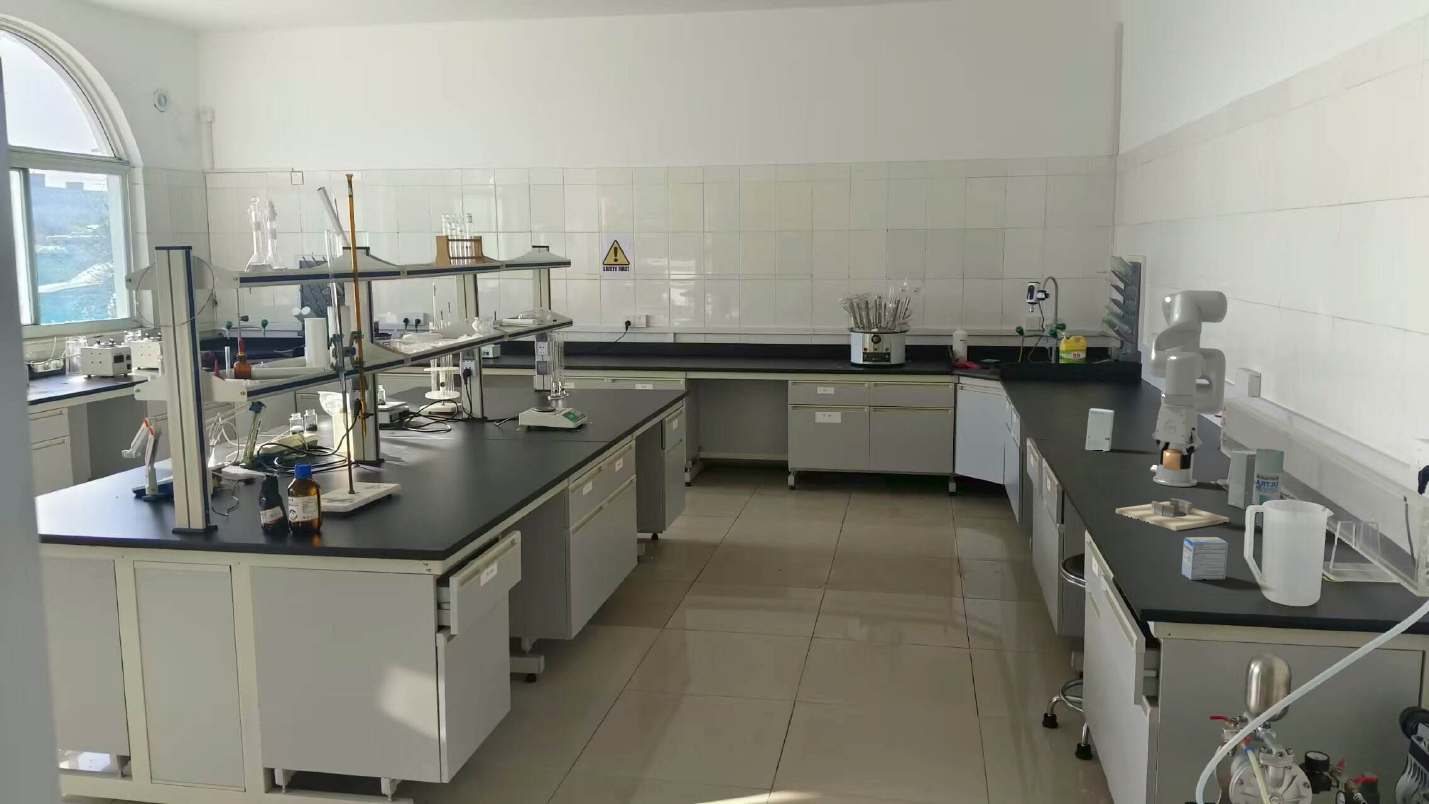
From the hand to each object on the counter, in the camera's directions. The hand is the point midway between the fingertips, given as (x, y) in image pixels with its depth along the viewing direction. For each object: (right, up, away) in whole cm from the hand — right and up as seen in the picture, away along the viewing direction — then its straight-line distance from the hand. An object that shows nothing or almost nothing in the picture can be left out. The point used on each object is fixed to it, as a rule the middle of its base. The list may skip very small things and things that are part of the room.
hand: (1174, 466), depth 281 cm
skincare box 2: (+27, -13, +15) cm, 34 cm away
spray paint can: (+21, -16, -5) cm, 27 cm away
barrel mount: (0, -14, +2) cm, 14 cm away
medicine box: (-15, -22, -49) cm, 56 cm away
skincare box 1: (+15, 0, +97) cm, 98 cm away
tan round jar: (0, -1, 0) cm, 1 cm away
